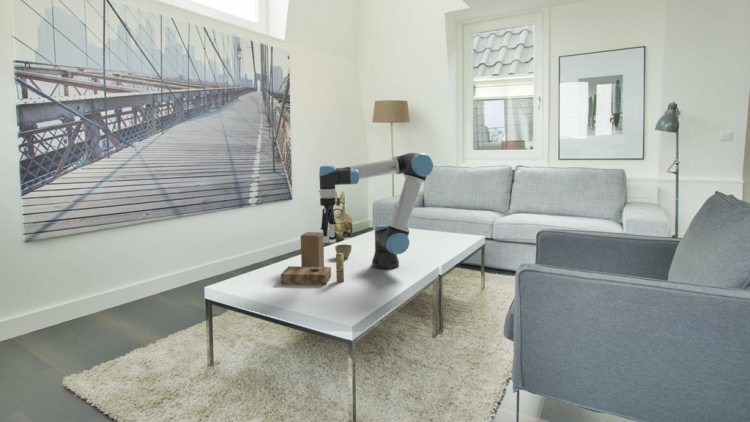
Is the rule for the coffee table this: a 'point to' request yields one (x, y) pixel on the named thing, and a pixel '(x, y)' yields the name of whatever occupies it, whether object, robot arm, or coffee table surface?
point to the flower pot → (344, 250)
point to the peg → (340, 267)
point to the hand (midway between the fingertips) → (328, 239)
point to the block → (312, 249)
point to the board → (306, 275)
